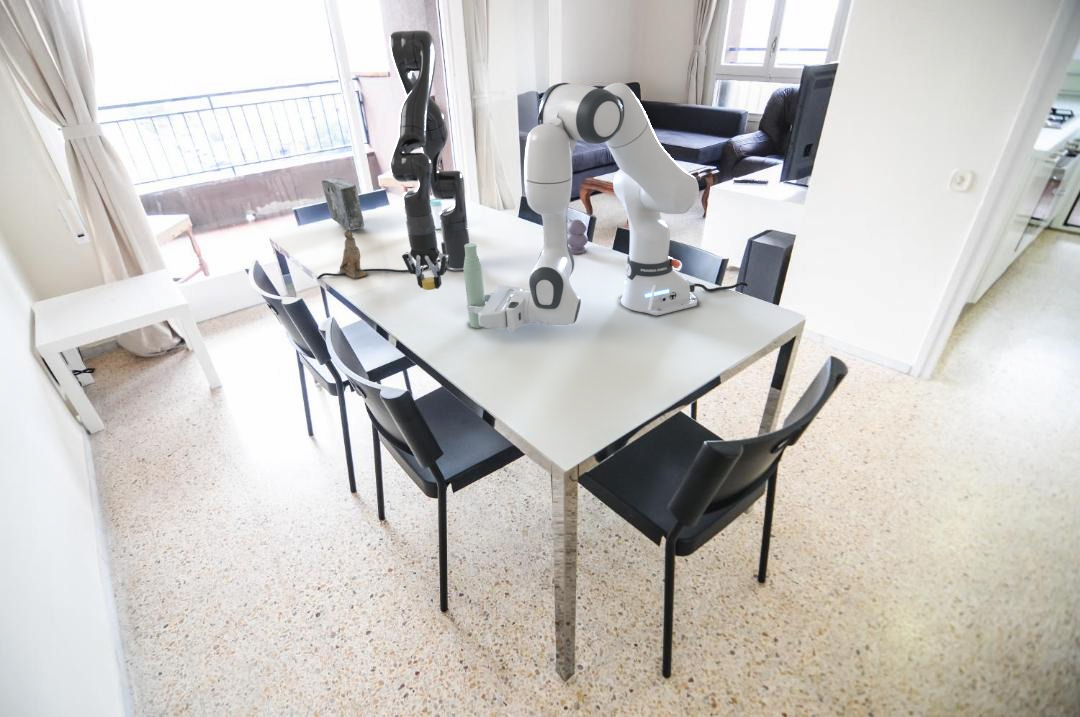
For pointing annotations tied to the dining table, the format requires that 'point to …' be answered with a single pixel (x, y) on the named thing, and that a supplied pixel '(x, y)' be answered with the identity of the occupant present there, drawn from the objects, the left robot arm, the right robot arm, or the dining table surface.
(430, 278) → the cap
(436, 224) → the white lidded cup
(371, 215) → the dining table surface
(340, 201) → the concrete block
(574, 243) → the cat figurine
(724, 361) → the dining table surface
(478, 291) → the bottle
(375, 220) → the dining table surface
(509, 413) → the dining table surface
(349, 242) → the brown carved statuette
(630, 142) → the right robot arm
